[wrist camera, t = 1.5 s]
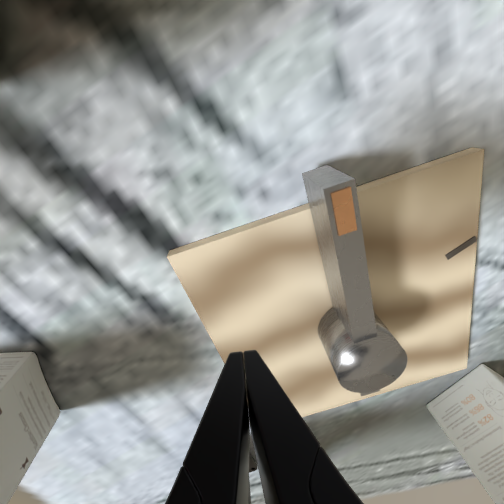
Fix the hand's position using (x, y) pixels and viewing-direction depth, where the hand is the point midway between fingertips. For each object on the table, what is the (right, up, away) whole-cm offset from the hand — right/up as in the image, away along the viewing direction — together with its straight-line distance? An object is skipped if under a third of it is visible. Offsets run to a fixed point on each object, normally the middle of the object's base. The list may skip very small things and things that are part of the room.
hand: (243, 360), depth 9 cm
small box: (+25, -12, +23) cm, 36 cm away
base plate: (+8, -2, +16) cm, 18 cm away
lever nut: (+7, +1, +13) cm, 14 cm away
